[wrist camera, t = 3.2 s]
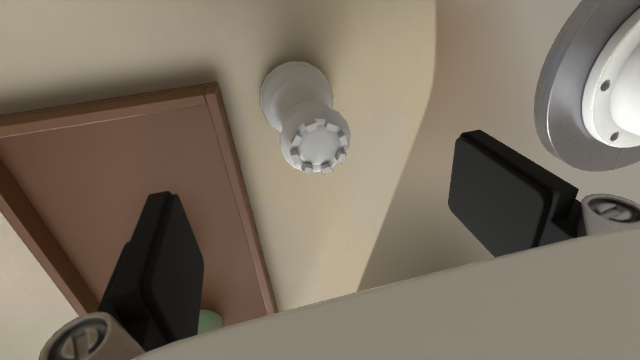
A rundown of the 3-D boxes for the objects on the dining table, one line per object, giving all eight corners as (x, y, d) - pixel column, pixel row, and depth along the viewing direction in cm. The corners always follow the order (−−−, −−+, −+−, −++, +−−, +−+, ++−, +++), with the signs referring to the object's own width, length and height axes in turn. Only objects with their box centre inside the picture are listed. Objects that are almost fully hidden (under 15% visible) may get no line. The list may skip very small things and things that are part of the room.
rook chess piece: (332, 122, 23) (371, 183, 16) (267, 134, 22) (277, 202, 15) (325, 53, 20) (367, 90, 13) (252, 65, 20) (257, 109, 13)
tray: (218, 81, 20) (215, 92, 18) (283, 330, 33) (285, 353, 31) (-27, 118, 18) (-59, 135, 16) (142, 365, 31) (135, 390, 29)
